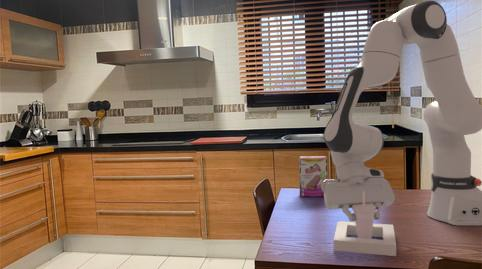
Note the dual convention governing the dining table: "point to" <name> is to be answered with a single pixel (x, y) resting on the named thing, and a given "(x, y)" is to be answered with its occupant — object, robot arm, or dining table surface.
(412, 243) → the dining table surface
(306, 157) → the candy bar box
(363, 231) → the smoothie
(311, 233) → the dining table surface
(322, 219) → the dining table surface
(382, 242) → the beige square frame
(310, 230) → the dining table surface
